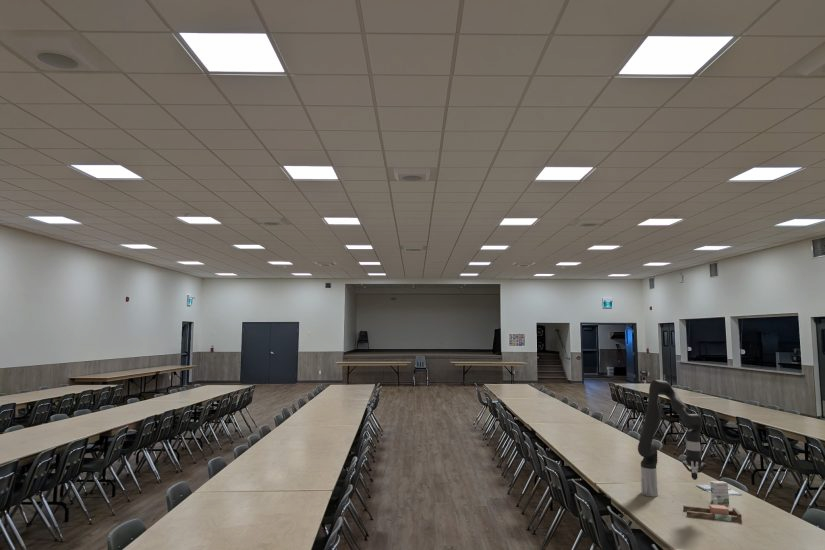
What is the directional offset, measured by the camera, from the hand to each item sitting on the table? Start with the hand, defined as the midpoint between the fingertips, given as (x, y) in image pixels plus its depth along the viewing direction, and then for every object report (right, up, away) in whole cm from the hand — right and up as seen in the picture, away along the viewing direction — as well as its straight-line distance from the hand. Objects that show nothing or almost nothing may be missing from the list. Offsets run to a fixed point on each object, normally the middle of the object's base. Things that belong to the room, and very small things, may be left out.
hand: (694, 479), depth 288 cm
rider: (+11, -19, -5) cm, 23 cm away
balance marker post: (+15, -20, +3) cm, 25 cm away
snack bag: (+40, -26, +42) cm, 64 cm away
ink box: (+28, -22, +20) cm, 41 cm away
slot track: (+7, -19, -5) cm, 21 cm away
